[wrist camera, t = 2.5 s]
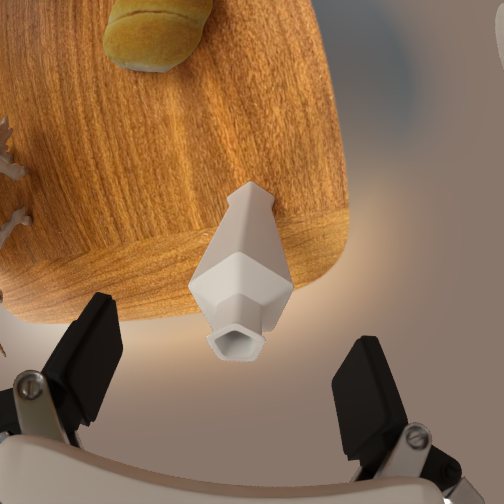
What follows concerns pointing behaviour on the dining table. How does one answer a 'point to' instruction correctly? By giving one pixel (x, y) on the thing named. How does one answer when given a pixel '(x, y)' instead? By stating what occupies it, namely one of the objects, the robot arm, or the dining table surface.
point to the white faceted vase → (243, 276)
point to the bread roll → (154, 32)
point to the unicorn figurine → (14, 172)
